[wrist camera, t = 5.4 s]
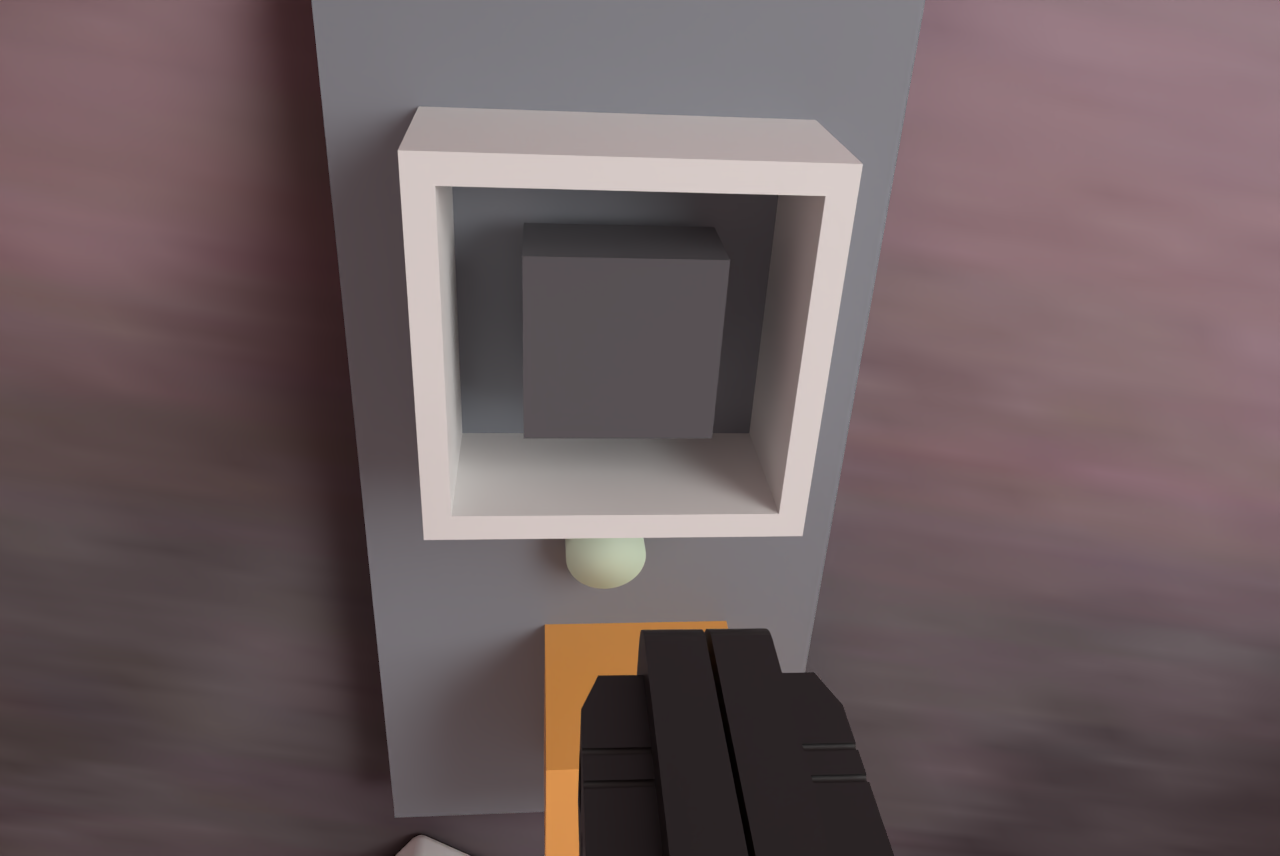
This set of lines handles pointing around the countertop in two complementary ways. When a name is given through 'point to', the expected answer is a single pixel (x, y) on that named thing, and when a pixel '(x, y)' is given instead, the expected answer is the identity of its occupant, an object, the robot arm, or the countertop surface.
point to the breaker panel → (493, 332)
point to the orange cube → (567, 684)
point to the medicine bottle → (428, 848)
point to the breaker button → (621, 330)
